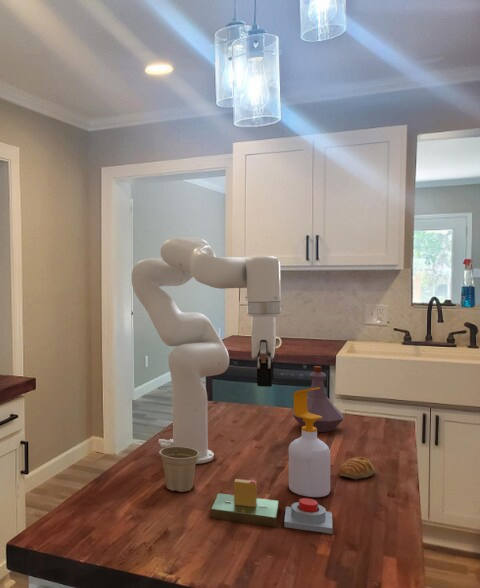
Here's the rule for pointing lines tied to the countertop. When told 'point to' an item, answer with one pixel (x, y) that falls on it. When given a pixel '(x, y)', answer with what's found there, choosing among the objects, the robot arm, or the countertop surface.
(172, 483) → the flower pot
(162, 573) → the countertop surface
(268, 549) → the countertop surface
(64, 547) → the countertop surface
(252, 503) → the yellow bar
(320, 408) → the flask
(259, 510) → the plate
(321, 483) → the soap bottle
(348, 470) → the pastry
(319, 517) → the grey square piece
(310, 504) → the button
